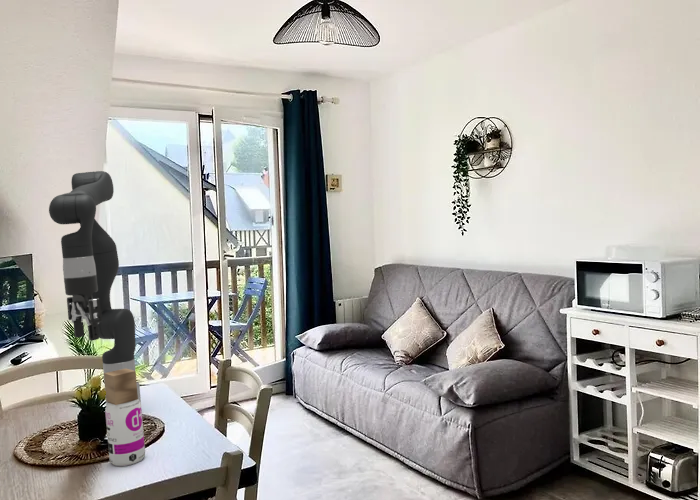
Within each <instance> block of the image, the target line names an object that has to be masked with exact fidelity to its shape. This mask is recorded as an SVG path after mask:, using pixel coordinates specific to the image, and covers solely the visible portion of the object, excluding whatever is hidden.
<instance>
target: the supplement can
mask: <svg viewBox="0 0 700 500" xmlns="http://www.w3.org/2000/svg"><path fill="white" fill-rule="evenodd" d="M141 409H142V402H141V403H140V401H139V400H138V399H137V400H133V401H130V402H126V403H122V404H118V405H114V404H112V403H109V402H108V403H107V407H105V409H104V410H105V411H104V413H105V424H106V435H107V444H108V445H107V446H108V456H109V462H110V464H112V465H113V466H116V467H124V466H125V467H126V466H130V465H133V464H138V463H139V462H141V461H142V460H143V459H144V457H145V456H146V445H145V434H144V425H143V413H142V412H143V411H142V410H143V409H142V410H141Z"/></svg>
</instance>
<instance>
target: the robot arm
mask: <svg viewBox="0 0 700 500" xmlns="http://www.w3.org/2000/svg"><path fill="white" fill-rule="evenodd" d="M113 196H114V183H113V179H112V176H111V175H110V174H109V172H106V171H103V170H100V171H99V170H96V171H87V172H77V173H74V174H73V175H72V176H71V191H70V192H66V193H62V194H59V195H56V196H54V198H52V200H51V201H50V203H49V207H48V213H49V214H48V215H49V216H50V218H51V220H52V221H53V222H54V223H56V224H58V225H73V224H74V225H75V224H79V226H80V227H79V229H78V230H77V231H74V232H70V233H67V234H64V235H63V236H61V239H60V245H61V252H62V253H61V254H62V272H63V282H64V290H65V291H64V292H65V295H67V296H69V297H66V303H67V304H66V306H67V317H68V321H71V323H72V324H73V332H74V334H73V335H74V337H75V338H83V337H84V336H85V327H84V322H83V320H85V321H86V324H87V330H88V331H87V332H88V339H89V341H97V340H99V339H100V340H101V339H102V340H114V343H113V347H112V348H111V349H109V350H106V351H104V352H103V353H102V355H101V359H102V360H101V361H102V368H103V369H102V372H103V374H104V373H107V372H112V371H116V370H121V369H125V368H126V369H130V370H134V371H136V362H135V360H136V359H135V351H136V346H137V345H136V323H135V317H134V314H133V313H132V311H131V310H130V309H128V308H112V304H111V289H112V286H113V283H114V282H115V280H116V276H117V274H118V271H119V268H120V264H119V263H120V262H119V261H120V260H119V256H118V249H117V243H116V242H115V241H114V239H113V238H112V237H111V235H110V234H109V233H107V231H106V230H105V229H104V228H103V227H102V226H101V224H99V222H98V221H97V219H96V214H97V206H99V205H100V204H102V203H104V202H107V201H110V200H112V198H113ZM103 381H104V382H103V383H104V385H105V380H104V379H103ZM136 382H137V381H136ZM137 393H138V400H139V401H140V403H141V404H142V400H141V398H142V397H141V387H140V382H137ZM107 403H108V402H106V401H105V405H106V407H107ZM106 407H105V408H106ZM141 410H143V409H142V408H141Z"/></svg>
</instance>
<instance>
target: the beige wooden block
mask: <svg viewBox="0 0 700 500" xmlns="http://www.w3.org/2000/svg"><path fill="white" fill-rule="evenodd" d="M104 380H105V384H104V392H105V391H106V395H105V403H106V402H109V403H112V404H114V405H118V404H122V403H126V402H130V401H133V400H137V399H138V393H137V371H136V370H135V371H134V370H130V369H126V368H125V369H121V370H116V371H112V372H107V373H104V372H103V381H104Z"/></svg>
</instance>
